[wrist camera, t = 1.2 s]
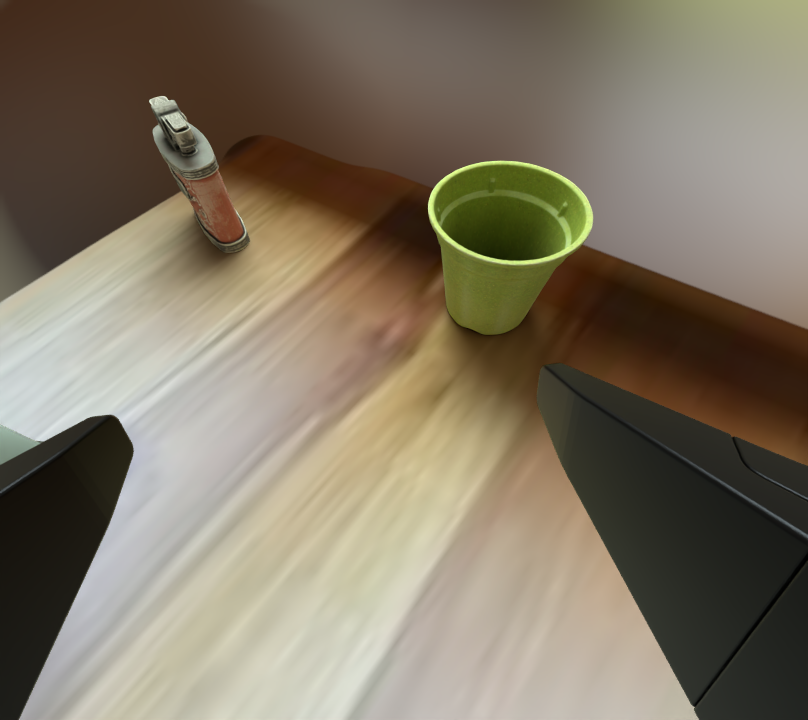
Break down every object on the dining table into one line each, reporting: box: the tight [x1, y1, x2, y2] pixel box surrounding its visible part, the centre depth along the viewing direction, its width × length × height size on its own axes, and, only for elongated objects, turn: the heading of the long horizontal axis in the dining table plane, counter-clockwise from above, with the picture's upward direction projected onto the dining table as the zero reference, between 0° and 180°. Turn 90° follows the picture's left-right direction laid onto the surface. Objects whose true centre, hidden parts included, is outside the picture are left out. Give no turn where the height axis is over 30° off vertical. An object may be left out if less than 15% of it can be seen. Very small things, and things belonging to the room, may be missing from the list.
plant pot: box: [428, 161, 593, 335], centre depth 27 cm, size 9×9×9 cm
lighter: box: [150, 96, 250, 253], centre depth 32 cm, size 8×3×10 cm, turn 36°
